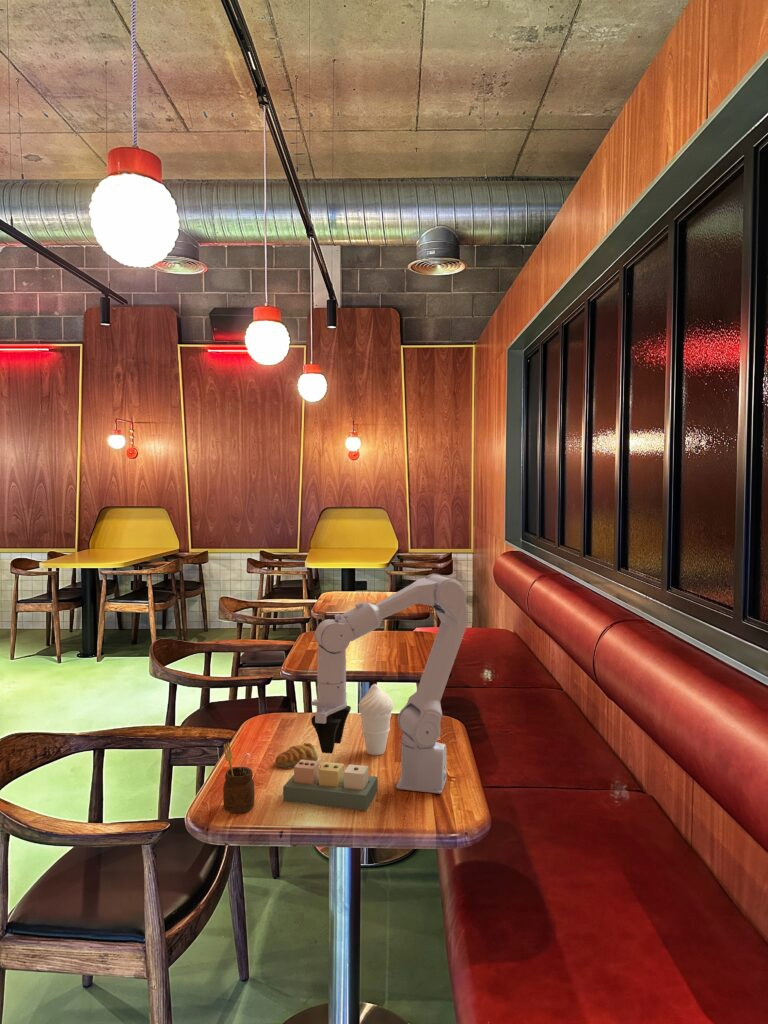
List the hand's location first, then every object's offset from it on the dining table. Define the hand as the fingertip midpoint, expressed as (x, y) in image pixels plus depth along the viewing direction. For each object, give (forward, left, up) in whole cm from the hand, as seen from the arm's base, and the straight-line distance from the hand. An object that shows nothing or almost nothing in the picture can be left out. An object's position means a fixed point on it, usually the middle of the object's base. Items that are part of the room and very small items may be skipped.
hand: (331, 747), depth 138 cm
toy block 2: (0, 0, -8) cm, 8 cm away
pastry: (+13, -15, -10) cm, 22 cm away
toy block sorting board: (0, 0, -10) cm, 10 cm away
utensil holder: (+16, +9, -10) cm, 21 cm away
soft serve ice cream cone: (-3, -25, -10) cm, 27 cm away
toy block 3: (-5, 0, -8) cm, 10 cm away
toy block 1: (+5, 0, -8) cm, 10 cm away
